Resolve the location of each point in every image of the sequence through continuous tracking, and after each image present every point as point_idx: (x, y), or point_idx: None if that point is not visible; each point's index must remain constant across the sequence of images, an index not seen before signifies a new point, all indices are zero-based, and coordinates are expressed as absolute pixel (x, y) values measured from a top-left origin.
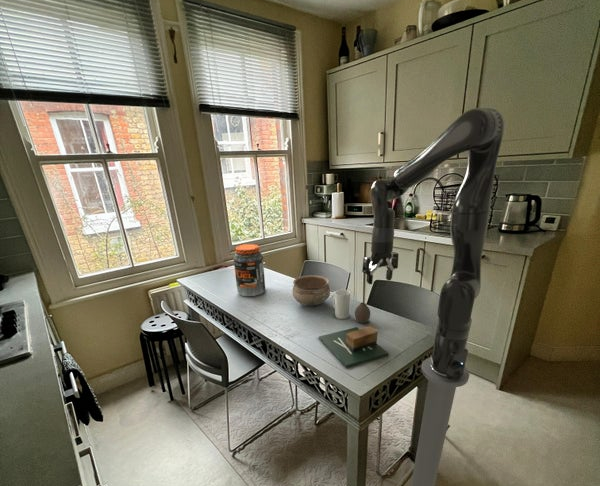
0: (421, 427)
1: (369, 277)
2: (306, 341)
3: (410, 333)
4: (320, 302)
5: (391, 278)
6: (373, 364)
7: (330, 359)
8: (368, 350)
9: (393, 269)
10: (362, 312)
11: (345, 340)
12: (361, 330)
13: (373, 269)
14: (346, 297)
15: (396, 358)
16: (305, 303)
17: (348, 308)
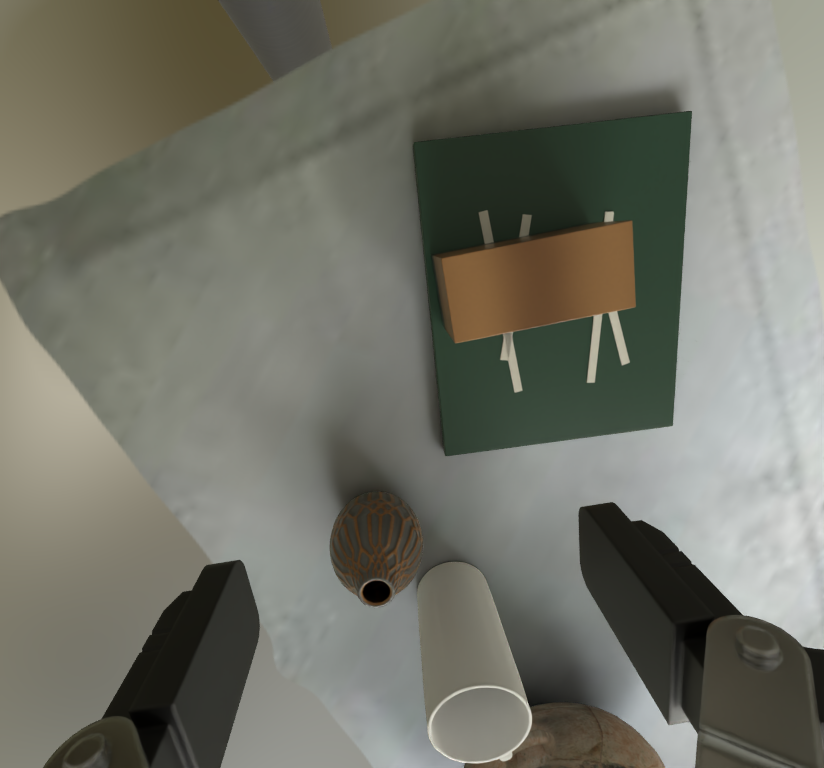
0: (321, 39)
1: (708, 591)
2: (731, 415)
3: (171, 317)
4: (539, 709)
5: (183, 592)
6: (535, 89)
7: (711, 220)
8: (506, 208)
9: (60, 756)
10: (396, 530)
11: (569, 346)
12: (530, 309)
13: (791, 764)
14: (471, 668)
15: (384, 97)
16: (616, 716)
17: (436, 608)
